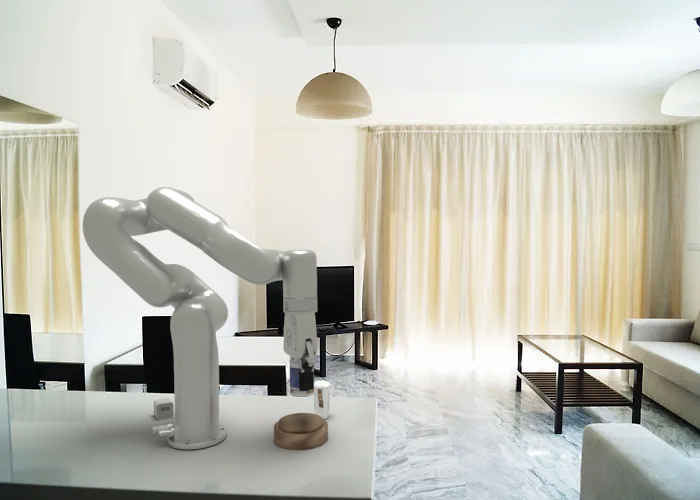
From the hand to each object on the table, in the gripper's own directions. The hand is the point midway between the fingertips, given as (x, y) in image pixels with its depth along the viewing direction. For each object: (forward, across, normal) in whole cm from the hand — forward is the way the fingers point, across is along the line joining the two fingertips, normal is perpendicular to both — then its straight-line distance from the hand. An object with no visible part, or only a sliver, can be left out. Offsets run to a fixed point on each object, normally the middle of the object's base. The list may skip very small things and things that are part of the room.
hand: (301, 385), depth 108 cm
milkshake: (+12, -10, +9) cm, 18 cm away
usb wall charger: (+12, -30, -27) cm, 42 cm away
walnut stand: (+12, 0, 0) cm, 12 cm away
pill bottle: (+2, 0, 0) cm, 2 cm away
